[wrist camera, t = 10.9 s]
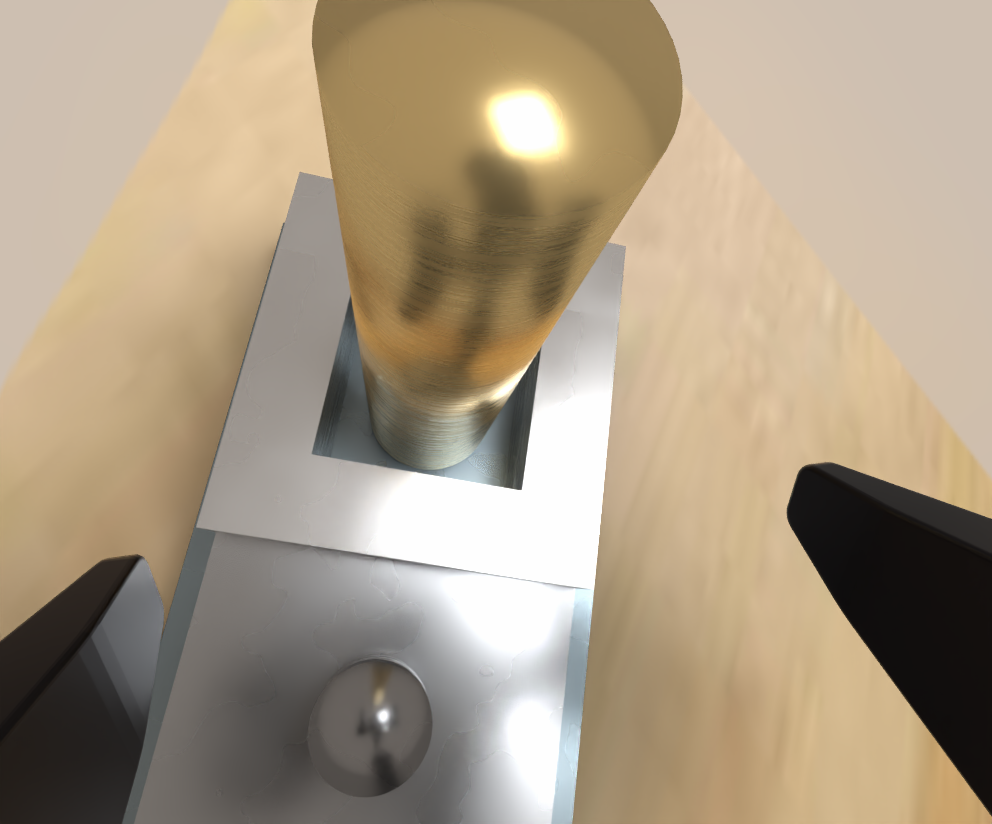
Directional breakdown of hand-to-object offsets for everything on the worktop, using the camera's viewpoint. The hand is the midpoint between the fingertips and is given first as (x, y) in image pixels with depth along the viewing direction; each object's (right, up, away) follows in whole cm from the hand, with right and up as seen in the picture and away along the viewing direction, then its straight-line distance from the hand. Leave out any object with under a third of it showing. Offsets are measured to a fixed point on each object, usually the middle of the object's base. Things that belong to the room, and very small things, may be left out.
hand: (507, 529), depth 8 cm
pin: (-2, +2, +9) cm, 10 cm away
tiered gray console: (-3, -4, +9) cm, 10 cm away
